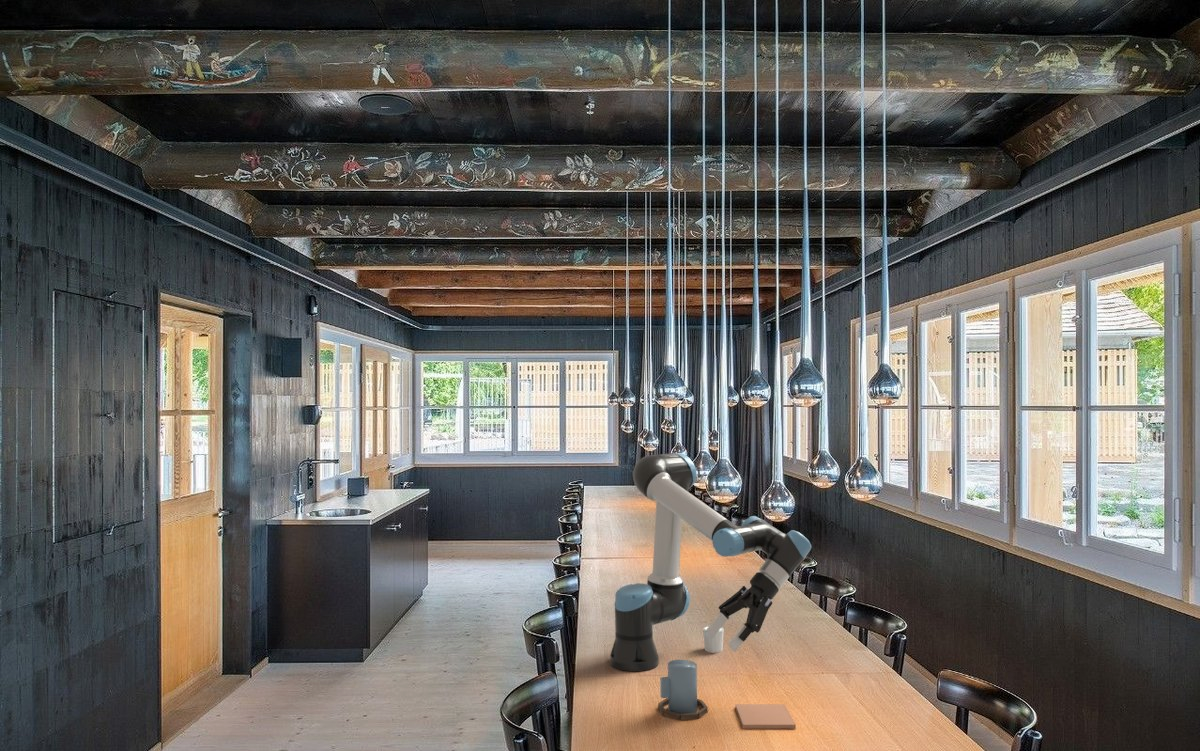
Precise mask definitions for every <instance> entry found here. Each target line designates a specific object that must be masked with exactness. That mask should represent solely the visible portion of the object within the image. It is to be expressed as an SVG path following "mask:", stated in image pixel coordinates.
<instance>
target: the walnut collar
mask: <svg viewBox="0 0 1200 751" xmlns="http://www.w3.org/2000/svg"><path fill="white" fill-rule="evenodd" d="M667 705H668V698H663V700H661V701H660V702H658V703H657V709H658V711H659V712H660V714H661V715H662V716H663V717H666V718H670V719H675V720H678V721H686V720H687V721H688V720H698V719H700V718H702V717H703V716H705V715H706V714H707V713H708V711H709V710H708V706H707V705H706V703H705V702H704V701H703V700H702V699H699V698H697V706H699V707H700V708H701V709H699V710H697V713H688V714H678V713H674V712H670V711H668V710H666V709H665V708H664V707H665V706H667Z"/></svg>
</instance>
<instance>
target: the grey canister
mask: <svg viewBox="0 0 1200 751" xmlns="http://www.w3.org/2000/svg"><path fill="white" fill-rule="evenodd" d="M697 665H698V664H697V663H696V662H695V661H692V660H689V659H672V660H670V661H668V663H667V676H662V677H660V680H659V681H660V682H659V683H660V698H661V699H666V698H668V704H667V705H668V707H667V708H668V709H667V711H670V712H674V713H678V714H688V713H697V712H698V705H697V699H698V666H697Z"/></svg>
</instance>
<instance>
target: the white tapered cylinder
mask: <svg viewBox="0 0 1200 751" xmlns="http://www.w3.org/2000/svg"><path fill="white" fill-rule="evenodd" d="M709 626H710V625H708V626H704V627H702V632H703V642H704V650H705V651H706V652H707V653H713V654H718V653H721V652H723V648H724V647H723V645H724V634H725V631H724V630H725V629H724V627H723V626H722V627H721V629H720V630H719V631H718V632H717V634H716V635H715V636H714V637H712V636H711V635H710V634H709V633H708V632H707V631H706V629H707V628H708V627H709ZM705 651H704V652H705Z"/></svg>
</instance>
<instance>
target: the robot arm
mask: <svg viewBox="0 0 1200 751" xmlns="http://www.w3.org/2000/svg"><path fill="white" fill-rule="evenodd" d="M697 475H698V474H697V469H696V465H695V464H694V462H693V461H692V460H691V458H690V457H689V456H687V455H686V454H684V453H675V452H673V453H672V452H670V453H663V454H651V455H646V456H643V457H642V458H641V459H639V460H638V461H637V463H636V464H635V466H634V468H633V472H632V477H633V478H632V479H633V482H634V485H635V487H636V488H637V490H638V491H639V492H640V493H641V494H642V495H644V497H646V498H647V499H649V500H650V501H652V502H655V501H656V502H655V517H654V518H655V521H654V522H655V523H654V537H653V538H654V539H653V540H654V541H653V556H652V559H653V560H652V572H651V573H650V574H649V575H648V576H647V579H646V580H647V581H646V582H647V583H634V584H633V583H630V584H627V585H623V586H621V587H619V589H617V590H616V592H615V596H614V598H615V599H614V619H615V620H614V622H615V623H614V624H615V626H614V628H615V629H614V630H615V637H614V640H613V641H614V642H613V645H612V648H611V650H610V651H611V652H610V655H609V664H610V666H611V667H613V668H615V669H618V670H621V671H627V672H641V671H642V672H643V671H648V670H652V669H654V668H656V667H658V665H659V654H658V650H657V647H656V645H655V641H654V638H653V637H654V636H653V629H654V628H653V626H654V625H657V624H658V625H659V624H662V623H664V622H669V621H674V620H676V619H677V618H680V617H682V616H683V615H685V613H686V612H687V611H688V609H689V605H690V600H691V598H690V591H688V587H687V586H686V585H685V583H684V578H683V577H682V576H681V575H680V562H681V548H682V547H681V543H682V528H683V526H682V524H683V521H684V522H686V523H687V524H688V525H690V526H691V527H692V528H694V529H695V530H697V532H699V533H701V534H702V535H703V536H705V537H706V538H708V540H711V541H712V547H713V549H714V550H715V552H716V554H718V555H719V556H721V557H736V556H739V555H743V554H748V553H752V552H756V551H762V552H763V554H764V553H765V555H768V556H769V557H768V558H767V559H766V560H765V561H764V562H763V564H762V565H761V567H760V568H759V569H758V571H759V572H756V573H755V574H754V575H753V576H752V578H750V580H749V583H750V586H751V587H749V588H747V587H746V585H743V586H741V588H740V589H739V590H738V591H737V592H735V593H734V594H733V595H731V597H729V598H727V599H726V600H725V601H724V602H722V603H721V604H720V605H719V606H718V609H719V614H717V616H716V617H715V618H714V619H713V621H712V622H711V623H710V624H709V625H708V626H709V627H708V628H707V629H706V631H707V632H708V633H709V634H710V635H711V636H712V637H714V636H715V635H716V634H717V632H718V631H719V630H720V629H721V627H722V628H723V626H724V625H725V624H726V622H727V621H728V620H729V618H730V616H732V615H734V614H736V613H737V612H739V611H741V610H742V609H748V613H747V618H746V622H744V623H743V625H742V626H741V627H740V628H739V629H738V631H736V633H735V634H734V636H733V637H732V638H731V640H730V641H729V642H728V643H727V647H729V648H730V650H732V651H733V652H735V653H736V652H737V651H738V650H739V648H740V647H741V646H742V645H743V643H744V642H745V641H746V640H747V638H749V636H750V635H751V633H754V632H756V633H757V634H758V633H760V631H761V629H762V626H763V623H764V622H765V619H766V616H767V614H768V611H769V609H770V608H771V606H772V605H773V601H772V600H773V599H774V597H775V596H776V595H777V594H778V593H779V590H780V589H781V588H782V587H784V584H786V583H787V581H788V579H789V578H790V577H791V576H792V574H793V573H794V572H795V571H796V569H797V568H798V567H799V566H800V564H801V563H802V562H803V561H804V560H805V559H806V557H807V556H808V554H809V553H810V551H811V549H812V544H811V541H810V540H809V539H808V538H807V537H805V536H804V534H802V533H800V532H799V531H796V530H793V529H791V530H790V531H789V532H787V533H784V532H782V531H780V530H779V529H778V528H776V527H774V526H772V524H770V523H768V521H766V520H765V519H762V518H759V517H758V516H756V515H752V516H749V517H748V518H746V519H745V520H744V521H743V523H742V524H741V525H736V524H734V523H733V522H732V521H730V520H729V519H727V518H726V517H724V516H723V515H721V514H720V513H719V512H717V511H716V510H714V509H713V508H712V507H711V506H710V505H707V504H706V503H705V502H704V501H702V500H700V499H699V498H697V497H696V496H694V495H693V494H692V493H690V492H689V490H690V489H691V487H693V486H694V484H695V483H696V481H697V477H698V476H697Z"/></svg>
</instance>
